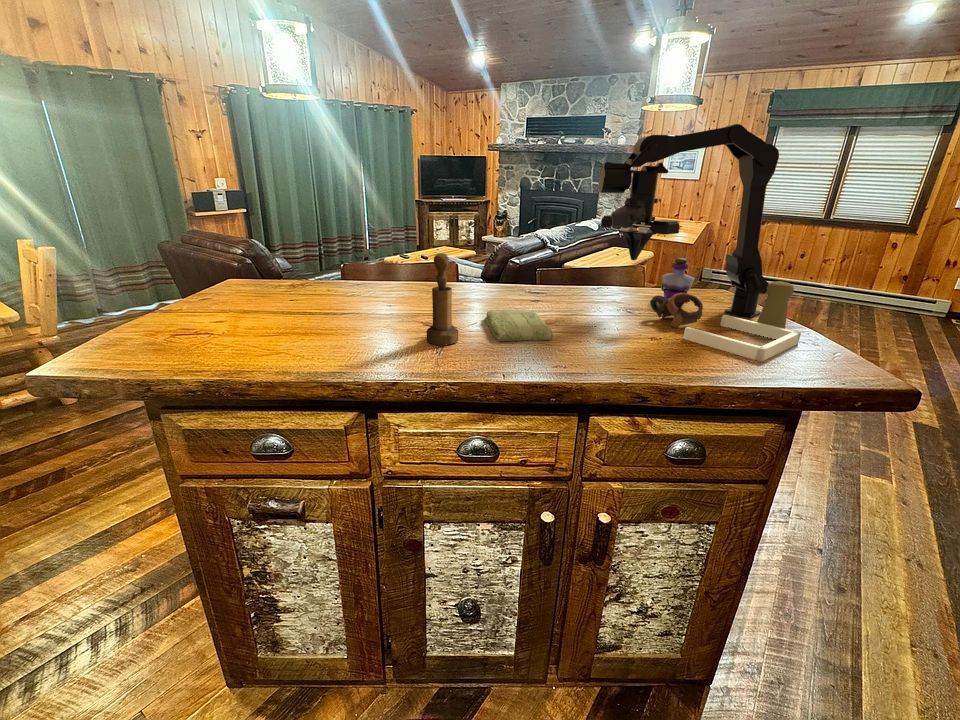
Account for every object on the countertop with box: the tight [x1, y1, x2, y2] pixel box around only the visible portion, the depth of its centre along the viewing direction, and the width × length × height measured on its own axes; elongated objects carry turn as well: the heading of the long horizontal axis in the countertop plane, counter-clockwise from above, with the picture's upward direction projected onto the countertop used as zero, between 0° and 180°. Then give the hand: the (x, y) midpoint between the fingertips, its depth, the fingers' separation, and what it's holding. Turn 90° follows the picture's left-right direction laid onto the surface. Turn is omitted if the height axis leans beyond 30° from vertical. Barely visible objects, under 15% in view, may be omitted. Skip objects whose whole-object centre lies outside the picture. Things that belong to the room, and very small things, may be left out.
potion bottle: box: [660, 257, 695, 299], centre depth 129 cm, size 9×9×12 cm
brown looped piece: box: [649, 292, 704, 329], centre depth 112 cm, size 12×10×8 cm
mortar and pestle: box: [426, 252, 459, 346], centre depth 95 cm, size 7×6×18 cm
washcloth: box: [484, 310, 554, 342], centre depth 106 cm, size 13×18×3 cm
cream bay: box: [683, 314, 802, 363], centre depth 100 cm, size 17×16×2 cm
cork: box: [756, 280, 795, 329], centre depth 107 cm, size 6×6×11 cm
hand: (633, 260), depth 117 cm, fingers closed
